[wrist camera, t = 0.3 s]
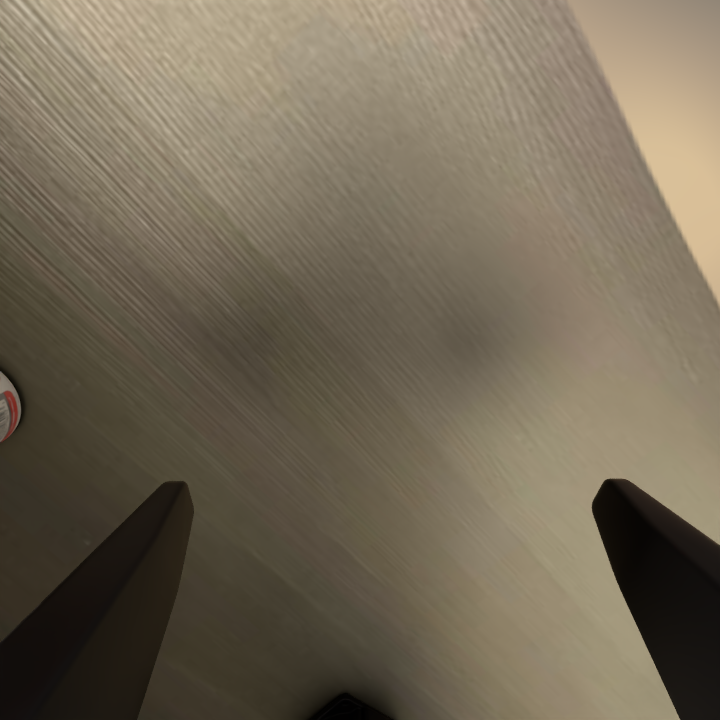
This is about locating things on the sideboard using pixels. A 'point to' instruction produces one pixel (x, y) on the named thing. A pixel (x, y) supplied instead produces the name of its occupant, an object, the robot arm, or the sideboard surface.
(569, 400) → the sideboard surface
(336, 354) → the sideboard surface
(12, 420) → the pill bottle
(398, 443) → the sideboard surface
